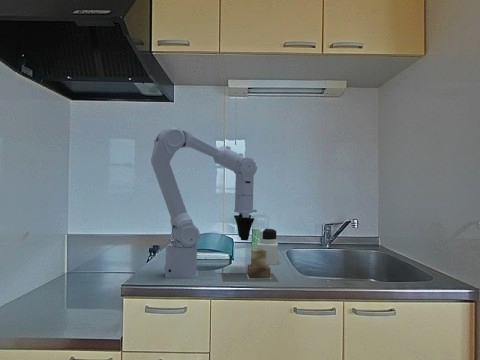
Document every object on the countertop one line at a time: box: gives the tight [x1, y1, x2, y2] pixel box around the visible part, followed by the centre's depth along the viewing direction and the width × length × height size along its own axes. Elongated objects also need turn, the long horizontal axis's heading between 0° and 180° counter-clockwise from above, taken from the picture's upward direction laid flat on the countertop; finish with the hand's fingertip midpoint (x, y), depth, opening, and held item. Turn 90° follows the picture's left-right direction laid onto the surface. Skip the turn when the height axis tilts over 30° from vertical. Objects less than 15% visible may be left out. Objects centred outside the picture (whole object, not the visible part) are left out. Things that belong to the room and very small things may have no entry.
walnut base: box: [247, 263, 271, 279], centre depth 141 cm, size 6×6×3 cm
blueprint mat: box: [220, 272, 280, 283], centre depth 139 cm, size 16×12×1 cm
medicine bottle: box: [256, 228, 279, 266], centre depth 164 cm, size 7×7×12 cm
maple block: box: [250, 248, 266, 268], centre depth 141 cm, size 4×4×5 cm
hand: (243, 238), depth 149 cm, fingers open, 7 cm apart
